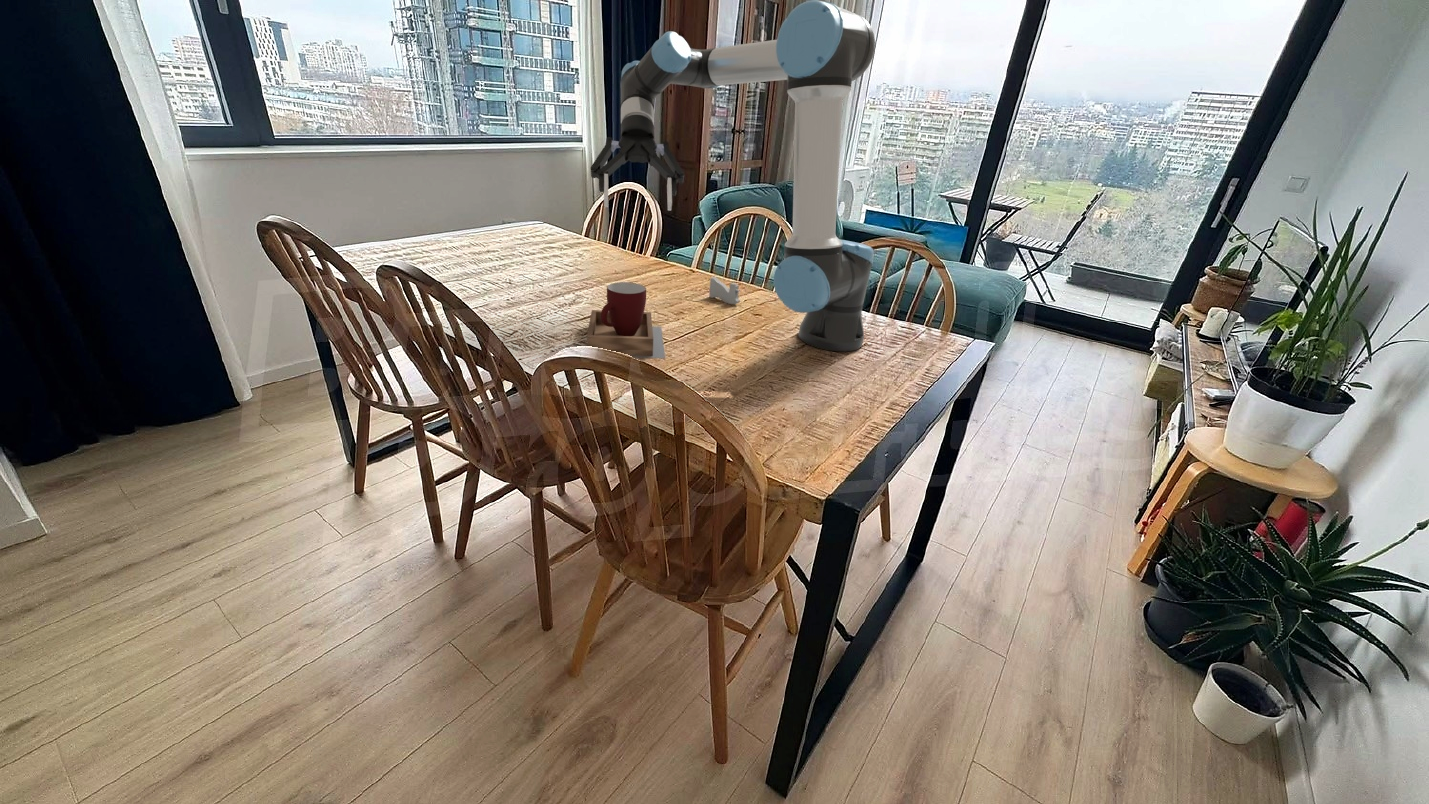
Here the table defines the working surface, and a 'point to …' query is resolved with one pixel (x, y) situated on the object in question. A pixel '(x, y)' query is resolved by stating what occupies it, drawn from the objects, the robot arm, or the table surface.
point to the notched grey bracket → (724, 291)
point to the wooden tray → (612, 341)
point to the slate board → (655, 344)
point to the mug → (624, 307)
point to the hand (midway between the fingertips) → (638, 205)
